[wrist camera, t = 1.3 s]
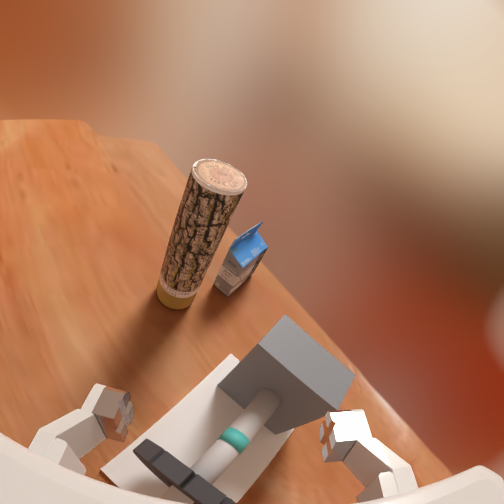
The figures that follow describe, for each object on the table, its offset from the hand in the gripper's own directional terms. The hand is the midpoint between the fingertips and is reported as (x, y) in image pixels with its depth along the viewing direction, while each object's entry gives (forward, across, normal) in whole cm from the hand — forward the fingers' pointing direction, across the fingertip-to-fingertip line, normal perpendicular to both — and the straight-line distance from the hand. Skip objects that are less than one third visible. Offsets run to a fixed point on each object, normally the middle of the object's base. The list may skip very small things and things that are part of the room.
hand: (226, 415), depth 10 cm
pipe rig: (+14, +2, +28) cm, 32 cm away
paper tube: (+36, +12, +16) cm, 41 cm away
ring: (+7, +6, +28) cm, 29 cm away
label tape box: (+44, +2, +16) cm, 47 cm away
